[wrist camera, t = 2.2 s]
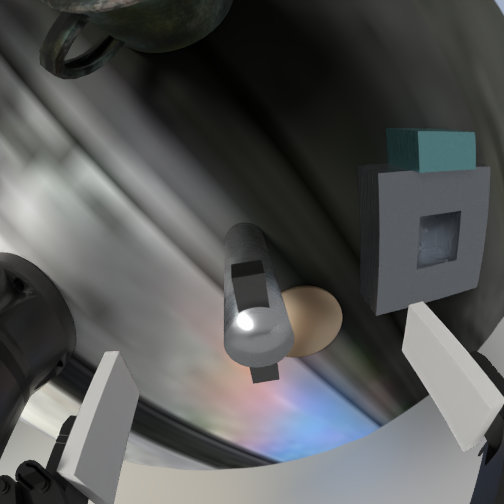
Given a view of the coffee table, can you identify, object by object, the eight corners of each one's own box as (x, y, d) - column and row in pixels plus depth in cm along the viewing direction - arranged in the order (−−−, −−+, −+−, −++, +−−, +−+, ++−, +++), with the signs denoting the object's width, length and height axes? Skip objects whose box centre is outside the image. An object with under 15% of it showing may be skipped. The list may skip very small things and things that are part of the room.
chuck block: (359, 292, 29) (380, 322, 24) (353, 129, 23) (381, 132, 18) (455, 270, 29) (482, 291, 24) (462, 128, 23) (497, 133, 18)
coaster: (264, 359, 31) (265, 363, 30) (253, 293, 28) (253, 297, 27) (339, 344, 31) (341, 348, 30) (340, 278, 28) (342, 281, 27)
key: (231, 278, 27) (236, 392, 15) (218, 207, 25) (209, 287, 13) (268, 272, 27) (297, 382, 15) (258, 200, 25) (287, 274, 13)
